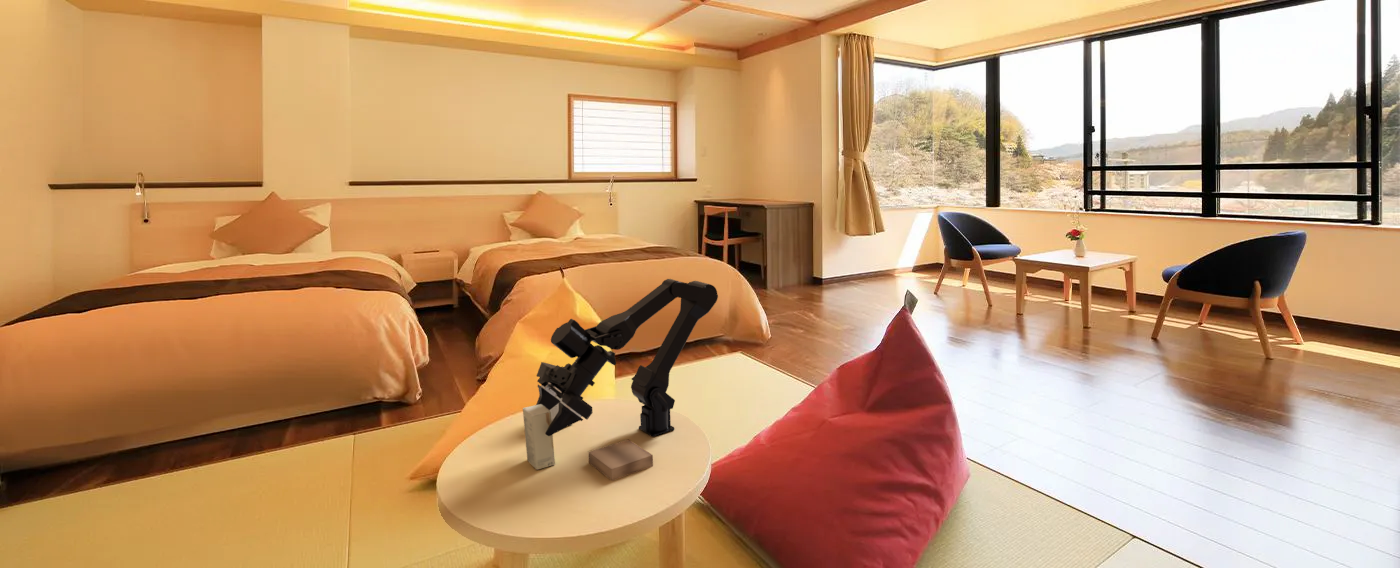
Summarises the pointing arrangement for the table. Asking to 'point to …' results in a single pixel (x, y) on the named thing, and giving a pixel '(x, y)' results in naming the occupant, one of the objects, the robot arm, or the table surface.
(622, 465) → the walnut block
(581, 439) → the table surface
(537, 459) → the skincare box
